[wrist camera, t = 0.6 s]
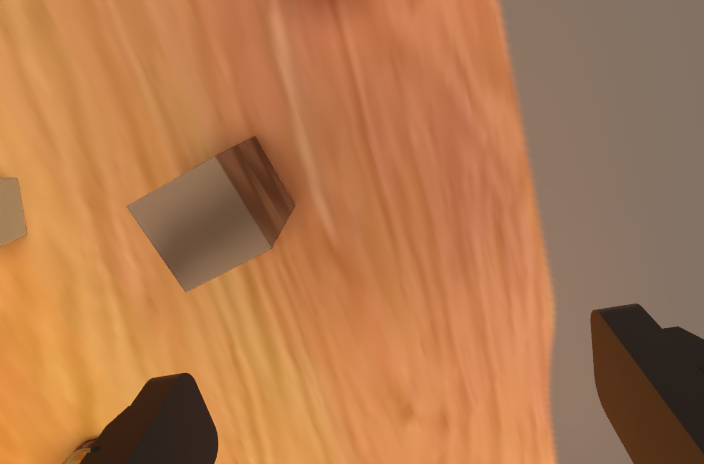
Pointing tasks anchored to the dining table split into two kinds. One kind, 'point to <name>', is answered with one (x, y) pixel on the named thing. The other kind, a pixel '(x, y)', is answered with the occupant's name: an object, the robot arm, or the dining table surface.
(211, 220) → the tower upper
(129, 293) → the dining table surface
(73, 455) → the sauce bottle
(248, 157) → the tower lower
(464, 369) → the dining table surface
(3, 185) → the sage block
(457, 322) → the dining table surface
